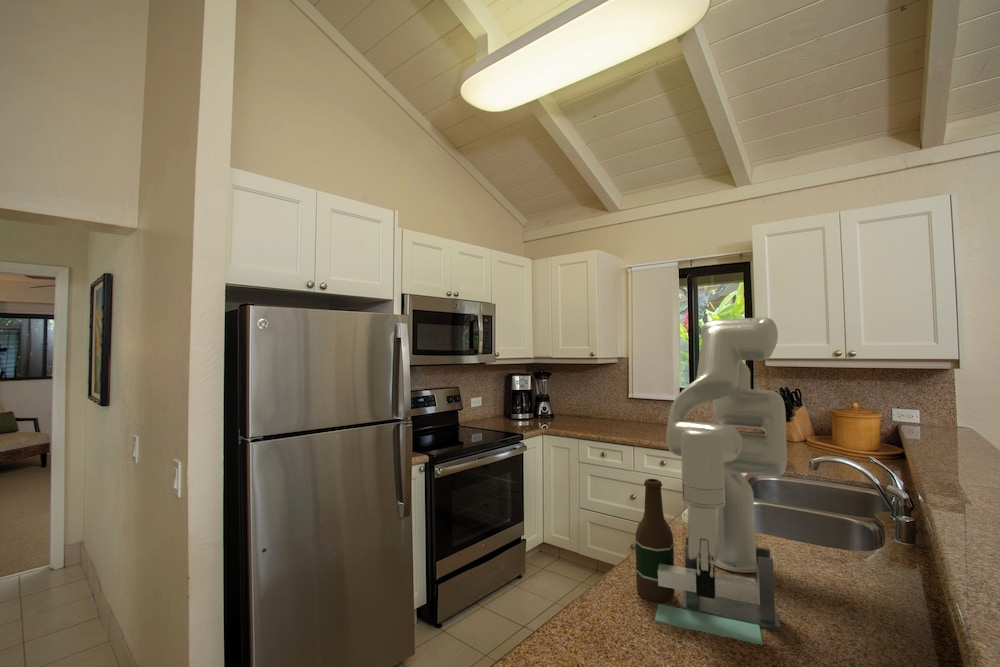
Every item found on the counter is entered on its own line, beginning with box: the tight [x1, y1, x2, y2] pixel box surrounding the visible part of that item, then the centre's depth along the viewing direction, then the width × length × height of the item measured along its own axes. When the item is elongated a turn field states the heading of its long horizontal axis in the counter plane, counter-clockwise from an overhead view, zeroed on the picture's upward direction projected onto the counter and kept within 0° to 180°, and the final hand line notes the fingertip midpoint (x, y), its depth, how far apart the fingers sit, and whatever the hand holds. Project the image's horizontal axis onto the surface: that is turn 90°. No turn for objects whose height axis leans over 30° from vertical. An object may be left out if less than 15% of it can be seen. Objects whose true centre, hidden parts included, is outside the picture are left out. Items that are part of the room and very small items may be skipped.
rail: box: [658, 564, 758, 604], centre depth 87 cm, size 3×17×3 cm, turn 66°
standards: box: [681, 536, 782, 632], centre depth 91 cm, size 7×17×12 cm, turn 66°
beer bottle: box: [635, 478, 675, 604], centre depth 99 cm, size 8×8×24 cm
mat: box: [654, 603, 763, 646], centre depth 87 cm, size 6×18×1 cm, turn 66°
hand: (705, 590), depth 87 cm, fingers closed on rail, 3 cm apart
